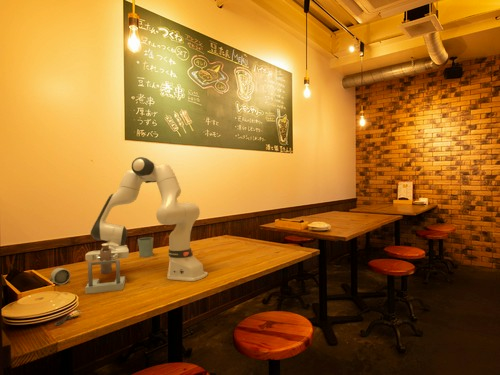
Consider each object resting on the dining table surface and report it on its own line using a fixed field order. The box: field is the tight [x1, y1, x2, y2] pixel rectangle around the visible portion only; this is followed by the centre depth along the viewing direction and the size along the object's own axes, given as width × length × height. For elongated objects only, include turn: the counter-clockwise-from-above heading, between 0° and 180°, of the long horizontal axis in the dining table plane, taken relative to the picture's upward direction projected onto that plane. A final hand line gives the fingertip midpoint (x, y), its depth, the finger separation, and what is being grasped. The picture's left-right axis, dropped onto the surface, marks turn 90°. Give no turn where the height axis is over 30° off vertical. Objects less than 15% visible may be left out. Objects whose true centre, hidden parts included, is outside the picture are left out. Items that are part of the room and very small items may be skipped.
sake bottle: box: [99, 242, 113, 275], centre depth 154 cm, size 5×5×14 cm
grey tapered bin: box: [137, 237, 154, 258], centre depth 214 cm, size 10×10×12 cm
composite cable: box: [54, 309, 83, 327], centre depth 118 cm, size 10×5×2 cm, turn 153°
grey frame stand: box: [84, 259, 126, 295], centre depth 152 cm, size 12×16×14 cm
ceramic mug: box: [48, 267, 71, 286], centre depth 160 cm, size 11×8×8 cm
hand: (105, 258), depth 153 cm, fingers closed on sake bottle, 5 cm apart
